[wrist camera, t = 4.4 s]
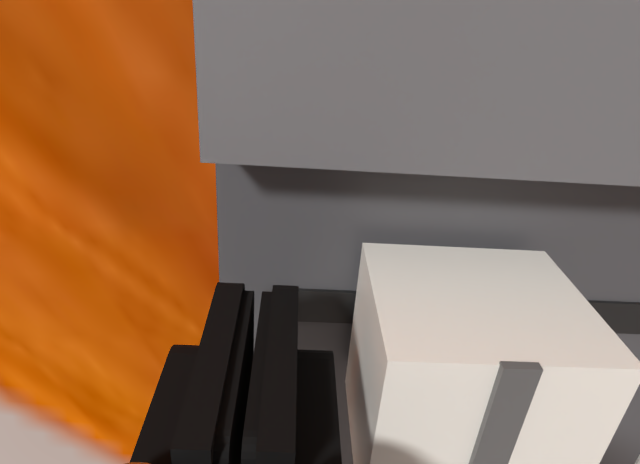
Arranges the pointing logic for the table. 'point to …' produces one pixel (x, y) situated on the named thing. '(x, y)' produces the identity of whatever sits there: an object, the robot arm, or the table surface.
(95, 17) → the table surface
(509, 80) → the console
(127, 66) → the table surface
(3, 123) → the table surface
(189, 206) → the table surface
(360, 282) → the fader knob
